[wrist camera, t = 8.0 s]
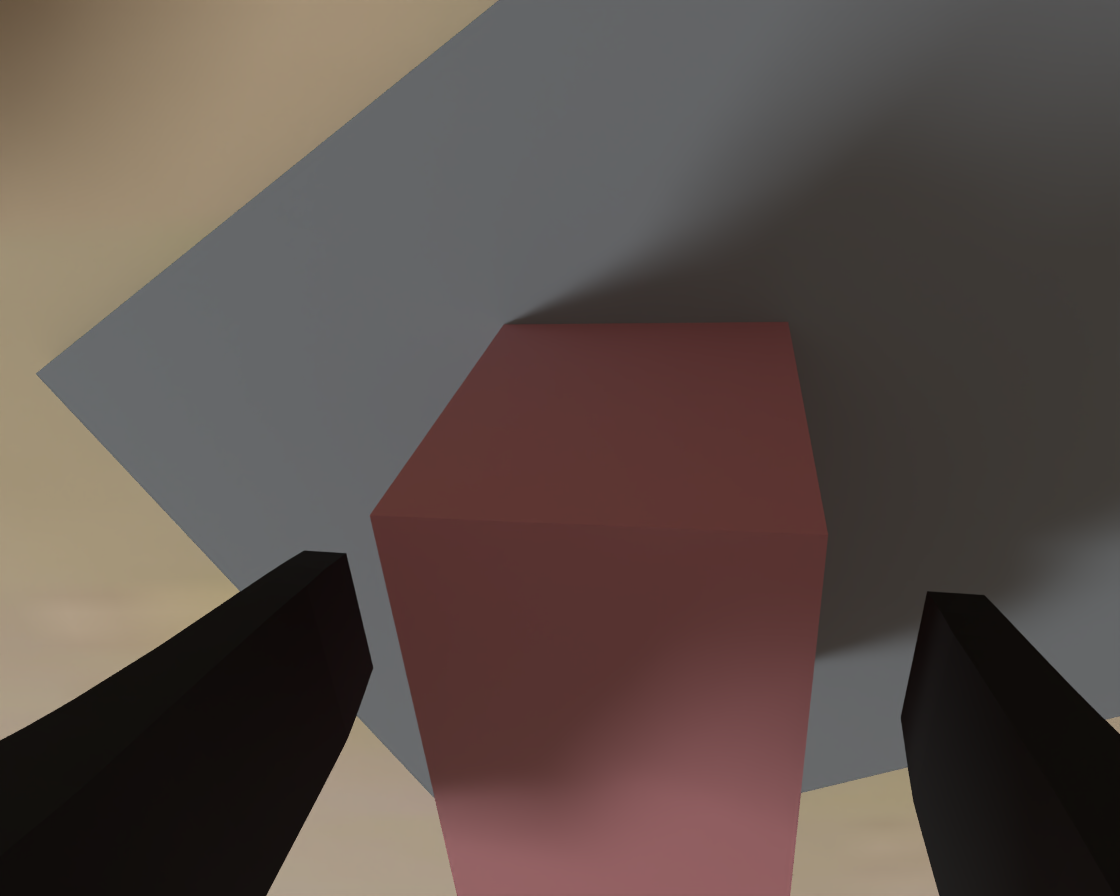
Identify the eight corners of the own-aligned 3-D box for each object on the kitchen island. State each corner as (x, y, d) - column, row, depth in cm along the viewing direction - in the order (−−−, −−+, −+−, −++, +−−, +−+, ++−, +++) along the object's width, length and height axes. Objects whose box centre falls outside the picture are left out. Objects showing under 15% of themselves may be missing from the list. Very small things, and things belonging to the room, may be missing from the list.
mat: (502, 849, 18) (498, 866, 18) (52, 364, 14) (35, 373, 14) (1336, 640, 12) (1356, 659, 12) (1004, -400, 7) (1017, -418, 7)
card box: (542, 653, 15) (463, 925, 10) (503, 324, 11) (369, 515, 7) (765, 670, 14) (781, 972, 9) (788, 322, 11) (828, 535, 6)
